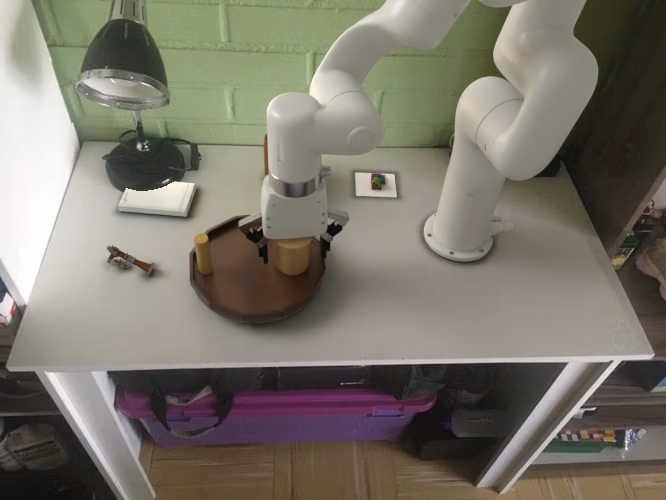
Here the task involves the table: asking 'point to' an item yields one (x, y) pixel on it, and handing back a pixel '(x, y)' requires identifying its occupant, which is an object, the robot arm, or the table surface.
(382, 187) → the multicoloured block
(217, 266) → the tray
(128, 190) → the hard drive
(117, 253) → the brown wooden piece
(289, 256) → the tan cylinder
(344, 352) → the table surface
